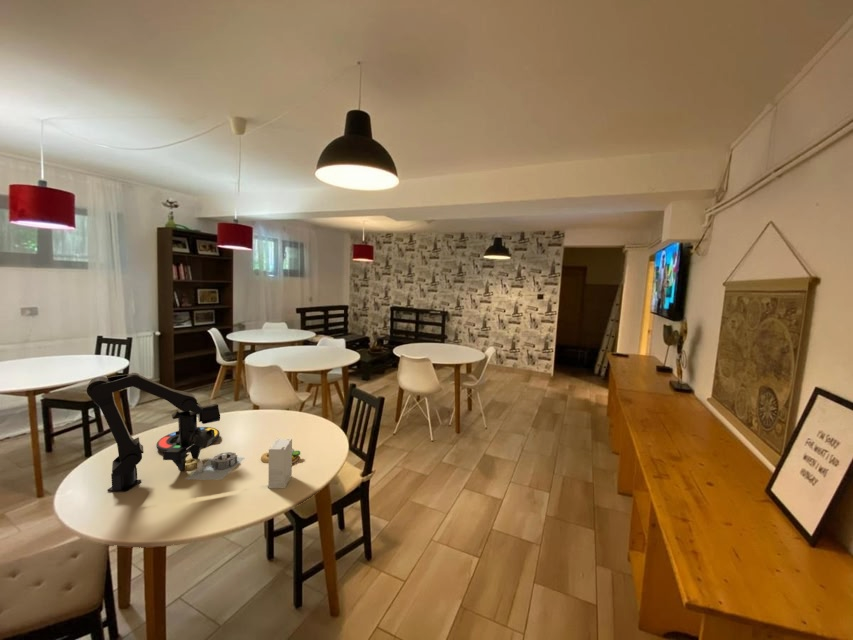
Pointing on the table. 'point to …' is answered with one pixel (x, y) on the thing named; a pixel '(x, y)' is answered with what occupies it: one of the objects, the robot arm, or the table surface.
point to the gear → (224, 461)
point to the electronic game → (166, 440)
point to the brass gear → (191, 463)
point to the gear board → (211, 470)
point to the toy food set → (294, 456)
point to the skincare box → (280, 463)
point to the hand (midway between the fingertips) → (189, 466)
